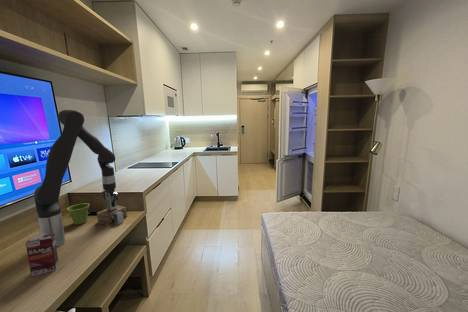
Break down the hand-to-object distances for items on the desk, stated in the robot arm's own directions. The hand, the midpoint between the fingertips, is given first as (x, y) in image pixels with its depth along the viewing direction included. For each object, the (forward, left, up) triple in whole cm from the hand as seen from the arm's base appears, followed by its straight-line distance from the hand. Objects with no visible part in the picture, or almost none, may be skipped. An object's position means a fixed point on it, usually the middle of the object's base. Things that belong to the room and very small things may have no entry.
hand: (111, 206), depth 138 cm
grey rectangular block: (-1, -8, -10) cm, 13 cm away
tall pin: (0, 0, -9) cm, 9 cm away
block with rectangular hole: (0, 0, -10) cm, 10 cm away
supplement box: (-45, -19, -10) cm, 50 cm away
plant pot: (-11, +16, -10) cm, 22 cm away
